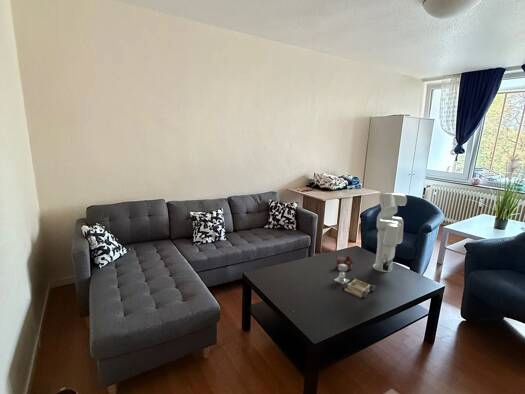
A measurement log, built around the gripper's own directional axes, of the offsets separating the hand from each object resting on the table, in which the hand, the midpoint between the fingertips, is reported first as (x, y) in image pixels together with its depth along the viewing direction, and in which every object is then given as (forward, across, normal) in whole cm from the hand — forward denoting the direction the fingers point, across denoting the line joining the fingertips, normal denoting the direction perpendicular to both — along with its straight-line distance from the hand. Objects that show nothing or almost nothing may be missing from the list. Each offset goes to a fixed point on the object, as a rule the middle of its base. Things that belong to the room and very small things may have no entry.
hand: (386, 268), depth 181 cm
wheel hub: (+8, +8, -27) cm, 29 cm away
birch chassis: (+17, +10, -13) cm, 24 cm away
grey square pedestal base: (+17, +8, -27) cm, 33 cm away
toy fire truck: (+17, -10, -36) cm, 41 cm away
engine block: (+1, 0, 0) cm, 1 cm away
